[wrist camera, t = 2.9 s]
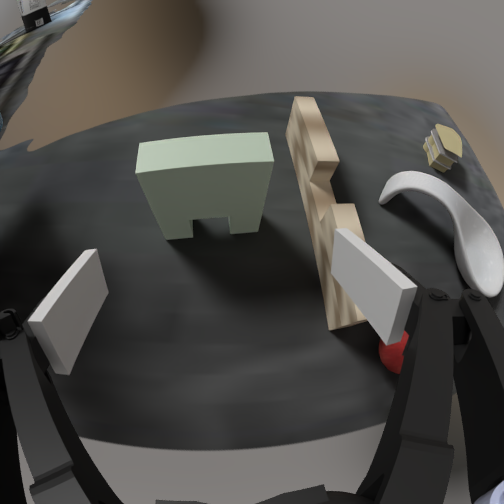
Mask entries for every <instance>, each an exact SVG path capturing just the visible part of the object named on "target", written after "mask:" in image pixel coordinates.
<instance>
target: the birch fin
mask: <svg viewBox="0 0 504 504" xmlns="http://www.w3.org/2000/svg"><path fill="white" fill-rule="evenodd" d="M286 138H287V142H288V145H289V149H290V153H291V156H292V160H293V164H294V168H295V171H296V175H297V179H298V183H299V187H300V191H301V195H302V199H303V204H304V208H305V212H306V216H307V221H308V225H309V230H310V234H311V239H312V243H313V248H314V253H315V257H316V262H317V267H318V272H319V277H320V283H321V288H322V293H323V299H324V304H325V310H326V316H327V322H328V328H329V330H335V329H340V328H345V327H350V326H353V325H356V324H359V323H362V322H365V321H368V320H367V319H366V318H365V316H364V315H363V314H362V312H361V311H360V310H359V308H358V307H357V306H356V304H355V303H354V302H353V301H352V299H351V298H350V297H349V295H348V294H347V293H346V292H345V290H344V289H343V288H342V286H341V285H340V284H339V283H338V281H337V280H336V279H335V278H334V276H333V275H332V274H331V266H332V255H333V244H334V231H335V229H340V228H347V229H349V230H350V231H351V232H353V233H354V234H355V235H356V236H358V237H359V238H360V239H361V240H363V241H364V242H365V239H364V235H363V232H362V228H361V225H360V221H359V218H358V215H357V212H356V208H355V205H354V204H336V200H335V197H334V193H333V190H332V187H331V184H330V179H331V177H332V175H333V173H334V171H335V169H336V167H337V165H338V164H339V162H340V161H339V158H338V156H337V153H336V150H335V148H334V145H333V143H332V140H331V137H330V135H329V132H328V130H327V128H326V125H325V123H324V120H323V118H322V116H321V113H320V111H319V109H318V106H317V104H316V102H315V100H314V98H313V97H296V96H295V98H294V102H293V106H292V110H291V114H290V119H289V123H288V127H287V131H286Z"/></svg>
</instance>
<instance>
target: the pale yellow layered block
mask: <svg viewBox="0 0 504 504" xmlns="http://www.w3.org/2000/svg"><path fill="white" fill-rule="evenodd" d="M431 133H432V135H431V136H428V137H427V138H426V143H425V144H424V145H423V148H424V150H425V151H426V153H427V156H428V161H429V166H431V167H433V168H435V169H437V170H439V171H441V172H443V173H444V172H445V171H446V170H447V169H450V170H451V165H452V164H453V163H454V162H456V163H457V162H458V156H460V157H462V141H461V138H460V136H459V135H458V134H457V133H456V132H455V131H454V130H453V129H451V128H449V127H446V126H443V125H440V124H436V129H432V131H431Z"/></svg>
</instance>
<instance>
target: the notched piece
mask: <svg viewBox="0 0 504 504" xmlns="http://www.w3.org/2000/svg"><path fill="white" fill-rule="evenodd" d="M273 164H274V159H273V154H272V150H271V146H270V141H269V137H268V132H266V133H236V134H219V135H205V136H194V137H184V138H175V139H167V140H159V141H152V142H145V143H140V144H139V151H138V158H137V165H136V176H137V178H138V180H139V183H140V185H141V187H142V189H143V192H144V194H145V196H146V198H147V201H148V203H149V205H150V207H151V209H152V212H153V214H154V216H155V218H156V220H157V222H158V224H159V226H160V229H161V231H162V233H163V235H164V237H165V239H166V240H171V239H181V238H192V237H193V220H195V219H206V218H218V217H229V226H230V234H238V233H250V232H258V230H259V225H260V221H261V216H262V212H263V208H264V203H265V199H266V194H267V190H268V186H269V181H270V177H271V172H272V168H273Z"/></svg>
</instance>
